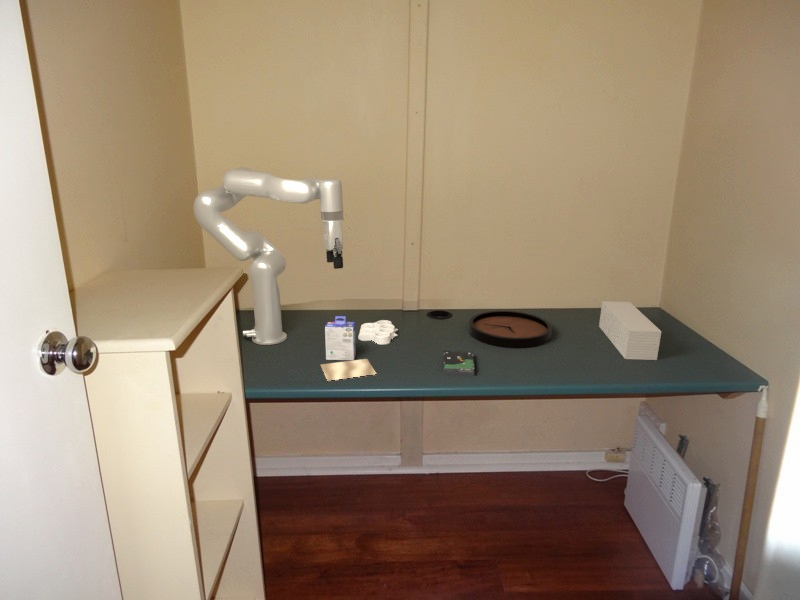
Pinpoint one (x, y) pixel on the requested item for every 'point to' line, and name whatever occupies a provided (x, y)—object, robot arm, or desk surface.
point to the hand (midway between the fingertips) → (334, 265)
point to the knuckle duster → (378, 332)
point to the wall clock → (510, 329)
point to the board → (347, 369)
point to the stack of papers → (630, 330)
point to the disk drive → (458, 363)
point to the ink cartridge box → (340, 340)
